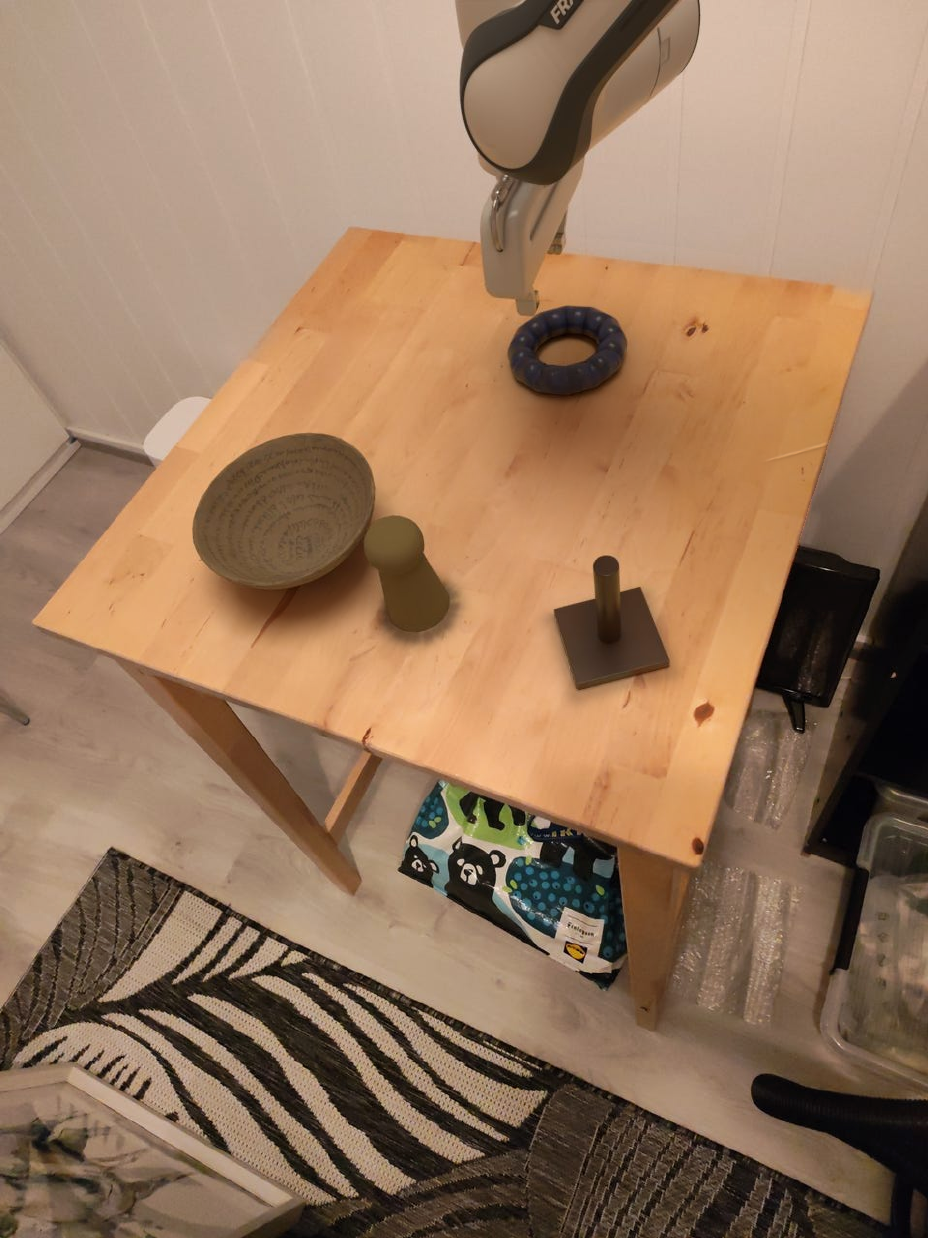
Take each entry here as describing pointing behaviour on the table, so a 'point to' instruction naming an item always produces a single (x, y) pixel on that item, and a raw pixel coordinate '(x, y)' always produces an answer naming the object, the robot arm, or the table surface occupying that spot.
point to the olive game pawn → (405, 574)
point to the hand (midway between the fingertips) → (542, 279)
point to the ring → (572, 375)
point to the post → (610, 631)
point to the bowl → (285, 511)
